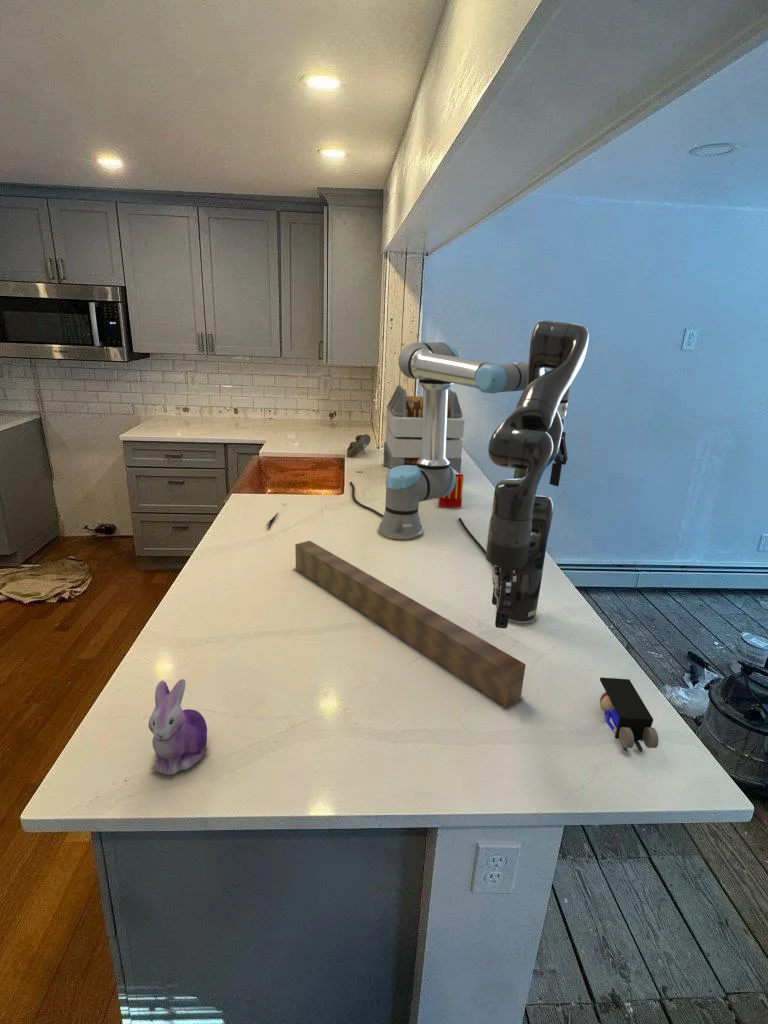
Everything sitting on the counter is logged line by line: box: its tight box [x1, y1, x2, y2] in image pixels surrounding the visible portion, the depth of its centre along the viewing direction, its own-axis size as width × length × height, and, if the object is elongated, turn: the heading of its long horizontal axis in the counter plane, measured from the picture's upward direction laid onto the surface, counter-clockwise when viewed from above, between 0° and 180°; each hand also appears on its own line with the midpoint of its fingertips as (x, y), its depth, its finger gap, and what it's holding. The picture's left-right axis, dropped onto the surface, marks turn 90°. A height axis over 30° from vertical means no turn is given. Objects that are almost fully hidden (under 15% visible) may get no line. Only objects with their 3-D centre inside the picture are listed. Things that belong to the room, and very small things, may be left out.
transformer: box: [383, 384, 465, 474], centre depth 268 cm, size 34×33×41 cm
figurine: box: [148, 678, 208, 776], centre depth 96 cm, size 9×10×15 cm
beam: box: [294, 540, 526, 709], centre depth 142 cm, size 78×5×8 cm, turn 41°
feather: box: [265, 512, 279, 530], centre depth 210 cm, size 2×28×2 cm
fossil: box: [346, 433, 372, 458], centre depth 305 cm, size 22×10×15 cm
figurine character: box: [599, 676, 660, 753], centre depth 108 cm, size 7×8×15 cm
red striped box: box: [438, 470, 464, 508], centre depth 240 cm, size 12×13×30 cm
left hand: (540, 489), depth 166 cm, fingers open, 13 cm apart
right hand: (499, 615), depth 108 cm, fingers open, 8 cm apart
